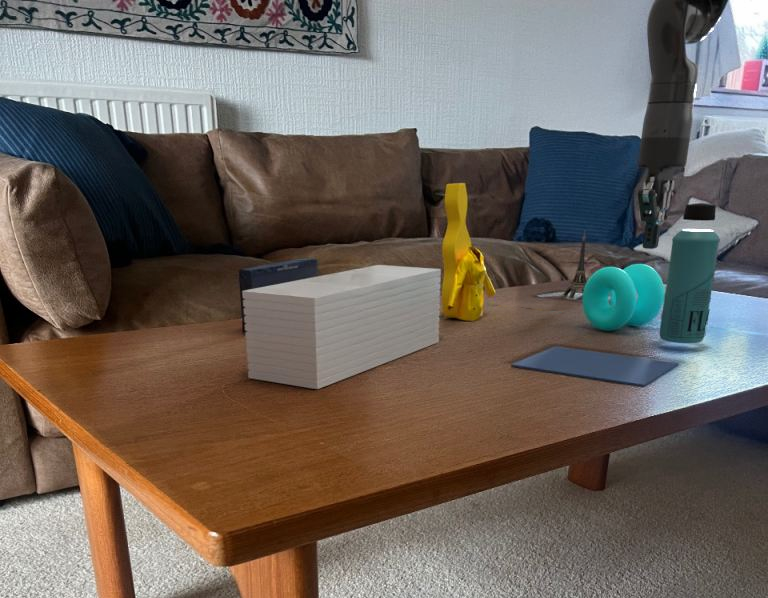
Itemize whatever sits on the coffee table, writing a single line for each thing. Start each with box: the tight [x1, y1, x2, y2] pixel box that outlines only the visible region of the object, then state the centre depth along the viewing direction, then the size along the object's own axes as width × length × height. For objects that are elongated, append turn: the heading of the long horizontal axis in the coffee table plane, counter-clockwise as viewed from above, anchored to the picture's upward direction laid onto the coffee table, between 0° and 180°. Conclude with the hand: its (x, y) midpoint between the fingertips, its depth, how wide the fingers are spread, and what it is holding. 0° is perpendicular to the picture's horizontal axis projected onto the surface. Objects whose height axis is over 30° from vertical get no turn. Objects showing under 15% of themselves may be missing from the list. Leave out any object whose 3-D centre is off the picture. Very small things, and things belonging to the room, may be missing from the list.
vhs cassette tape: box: [238, 257, 319, 334], centre depth 130 cm, size 18×3×10 cm, turn 148°
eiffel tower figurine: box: [536, 231, 611, 301], centre depth 154 cm, size 15×10×13 cm
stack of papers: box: [242, 264, 442, 390], centre depth 107 cm, size 32×11×11 cm, turn 149°
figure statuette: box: [441, 182, 497, 322], centre depth 134 cm, size 18×8×22 cm, turn 148°
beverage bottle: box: [659, 202, 721, 344], centre depth 111 cm, size 6×7×20 cm
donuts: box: [581, 263, 665, 332], centre depth 128 cm, size 10×10×10 cm
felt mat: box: [510, 346, 680, 388], centre depth 105 cm, size 18×14×1 cm
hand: (649, 248), depth 133 cm, fingers closed
